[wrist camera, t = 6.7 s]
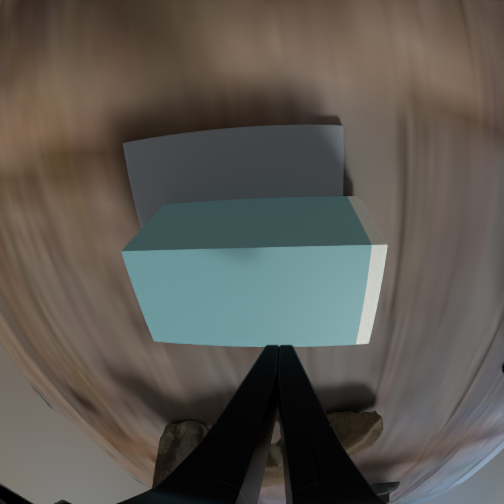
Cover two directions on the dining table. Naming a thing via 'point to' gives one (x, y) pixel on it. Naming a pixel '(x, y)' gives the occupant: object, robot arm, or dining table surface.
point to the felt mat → (235, 165)
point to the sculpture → (344, 423)
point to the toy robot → (385, 490)
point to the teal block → (259, 272)
